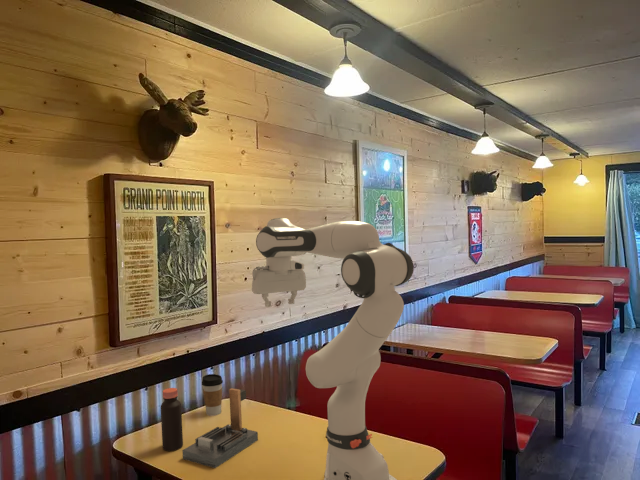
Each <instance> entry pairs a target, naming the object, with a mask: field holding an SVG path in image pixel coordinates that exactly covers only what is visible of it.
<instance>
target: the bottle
mask: <svg viewBox="0 0 640 480" xmlns="http://www.w3.org/2000/svg"><path fill="white" fill-rule="evenodd" d="M178 396H179V394H178V388H177V387H170V388H165V389H163V390H162V399H163V402H162V403H161V404H160V421H161V425H160V426H161V441H162V445H161V446H162V450H164V451H166V452H175V451H177V450H180V449H181V448H182V447H183V445H184V439H183V436H184V435H183V417H182V403H181V401H180V400H179V399H178Z"/></svg>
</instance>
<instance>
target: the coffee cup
mask: <svg viewBox="0 0 640 480" xmlns="http://www.w3.org/2000/svg"><path fill="white" fill-rule="evenodd" d="M223 383H224V381H223V378H222V375H219V374H216V373H215V374H214V373H210V374H205V375H204V376H202V380H201V386H202V388H203V389H202V392H203V399H204V405H205V413H206V416H209V417H211V416H213V417H214V416H218V415H220V414H221V413H222V400H223V398H222V397H223V396H222V395H223Z"/></svg>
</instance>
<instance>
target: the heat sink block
mask: <svg viewBox="0 0 640 480" xmlns="http://www.w3.org/2000/svg"><path fill="white" fill-rule="evenodd" d="M258 435H259V434H258V431H255V430H251V429H248V428H247V427H242V429H241V432H240V431H235V430H231V424H229V423H228V424H226V425H224V426H223V427H220V426H217V427H215V428H213V429H211V430H209V431H208V432H205V433H204V434H202V435H200V436H198V437H197V438H195V440H194V441H195V442H194V443H193V444H191V445H189V446H188V447H185V448H184V449H182V460H184V461H189V462H192V463H195V464H199V465H202V466H206V467H209V468H213V469H217V468H218V467H219V466H221V465H223V464H224V463H225V462H227V461H228V460H230V459H231V458H233V457H235V456H236V455H237V454H239V453H241V452H243V450H245V449H247V448H249V447H250V446H252V445H253V444H255V443H256V442H257V441H259V436H258Z"/></svg>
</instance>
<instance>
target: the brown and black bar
mask: <svg viewBox="0 0 640 480" xmlns="http://www.w3.org/2000/svg"><path fill="white" fill-rule="evenodd" d="M228 391H229V393H228V394H229V410H230V412H229V413H230V425H231V430H235V431H240V432H241V429H242V428H243V424H242V423H243V422H242V401H245V400H246V399H247V391H246V390H245V389H240V388H233V387H232V388H229V389H228Z"/></svg>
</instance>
